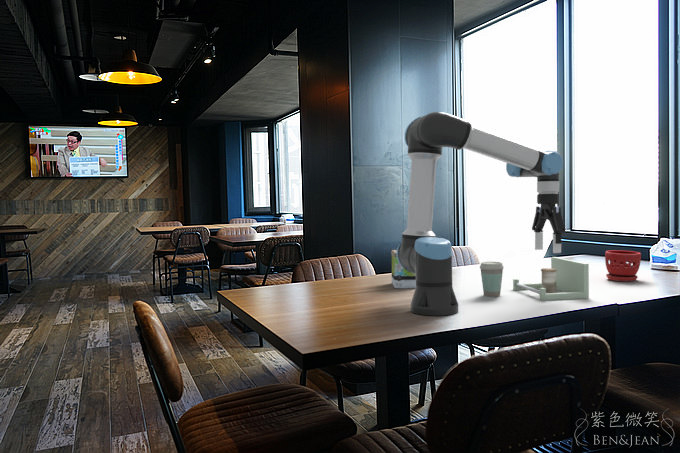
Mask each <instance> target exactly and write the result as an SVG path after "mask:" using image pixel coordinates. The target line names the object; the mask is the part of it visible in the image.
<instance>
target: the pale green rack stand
mask: <svg viewBox="0 0 680 453" xmlns="http://www.w3.org/2000/svg"><path fill="white" fill-rule="evenodd" d="M550 261H551V263H550V264H551V268H553V269H557V271H556V290H558V291H561V292H557V293H546V288H542V282H535V283H533V282H532V283H520V279H519V278H513V279H512V285H513V286H512V289H513V290H514V291H519V290H520V291H521V290H523V291H524V290H525V291H529V292H532V293H535V294H538V295H539V300H540V301H553V300H575V299H578V300H579V299H590V291H589V290H590V287H589V286H590V283H589V282H590V280H589V278H590V276H589V275H590V274H589V272H590V271H589V270H590V267H589V265H590V264H589V263H588V262H587V263H586V262H582V261H577V260H572V259H568V258H563V257H557V256H552V257H550Z"/></svg>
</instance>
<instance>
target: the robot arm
mask: <svg viewBox="0 0 680 453" xmlns="http://www.w3.org/2000/svg"><path fill="white" fill-rule="evenodd" d="M404 142H405V144H406V147H407V156H408V157H409V158H410V160H411V165H410V178H409V180H410V181H409V190H408V191H409V194H408V207H407V209H408V210H407V221H406V222H407V223H406V229H405V230H404V231H403V232H402V233H401V242H400V243H399V245H398V246H397V248H396V250H397V260H398V262H399V264H400V265H401V266H402V267H403V268H404V269H405V270H407V271H408V272H411V273H416V288H414V293H413V295H412V299H411V302H410V311H411V312H412V313H413V314H417V315H423V316H435V317H437V316H450V315H455V314H457V313H458V312H459V303H458V300H457V297H456V293H455V292H454V289H453V249H452V248H453V247H452V243H451V241H450V240H448V239H446V238H443V237H437V235H436V233H434V231H433V230H432V229H433V217H434V207H435V206H434V204H435V192H436V191H435V190H436V177H437V176H436V175H437V163H438V162H437V161H438V160H440V158H441V157H443V156H442V155H443V148H451V149H456V150H458V151H461V150H462V149H465V150H468V151H472V152H473V153H477V154H480V155H482V156H486V157H488V158H492V159H494V160H498V161H500V162H503V163H506V165H505V167H506V168H505V170H506V173H507V175H508V176H509V177H512V178H536V192H537V193H538V194H537V195H536V203H537V206H535V214H534V217H533V222H532V226H531V230H532V231H533V232H534V250H536V251H537V250H539V251H541V250H542V251H543V249H544V246H543V245H544V230H543V229H544V226H545V224H546V223H547V220H548V221H549V224H550V225H551V228H552V231H553V233H552V253H553V254H561V253H562V235H563V234H565V233H566V229H565V224H564V220H563V216H562V209H561V206H556V205H558V204H560V194H559V192H560V186H561V185H560V172H561V171H562V169H563V166H564V159H563V156H562V155H561V154H560V152H559V151H558V150H541V149H538V148H536V147H532V146H529V145H526V144H523V143H521V142H518V141H515V140H512V139H511V138H506V137H504V136H502V135H500V134H499V135H498V134H495V133H493V132H490V131H488V130H484V129H481V128H479V127H476V126H474V125H473V124H472V122H471V121H470V120H466V119H464V118H462V117H461V118H460V117H458V116H456V115H453V114H450V113H447V112H442V111H433V112H430V113H427V114H426V115H423V116H419V117H416V118H415V119H413V120H412V121H411V122H410V123H409V124H408V125H407V127H406V128H405V131H404ZM538 205H540V206H538Z"/></svg>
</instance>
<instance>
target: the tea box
mask: <svg viewBox="0 0 680 453" xmlns="http://www.w3.org/2000/svg"><path fill="white" fill-rule="evenodd" d="M390 257H391V258H390V259H391V262H390V263H391V284H392V286H393V287H394V288H395V289H416V273H411V272H408V271H407V270H405V269H404V268H403V267H402V266H401V265H400V264H399V262H398V260H397V249H391V256H390Z"/></svg>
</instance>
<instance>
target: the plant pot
mask: <svg viewBox="0 0 680 453" xmlns="http://www.w3.org/2000/svg"><path fill="white" fill-rule="evenodd" d="M604 255H605V256H604V262H605V268H606V271H607V273H606V275H605V276H606V278H607V279H608V280H610V281H615V282H634V281H636V280H637V279H638V278H639V277H638V275H637V273H638V272H639V270H640V266H641V260H642V253H641V252H638V251H633V250H617V249H614V250H612V249H611V250H606V251H605V254H604Z"/></svg>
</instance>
